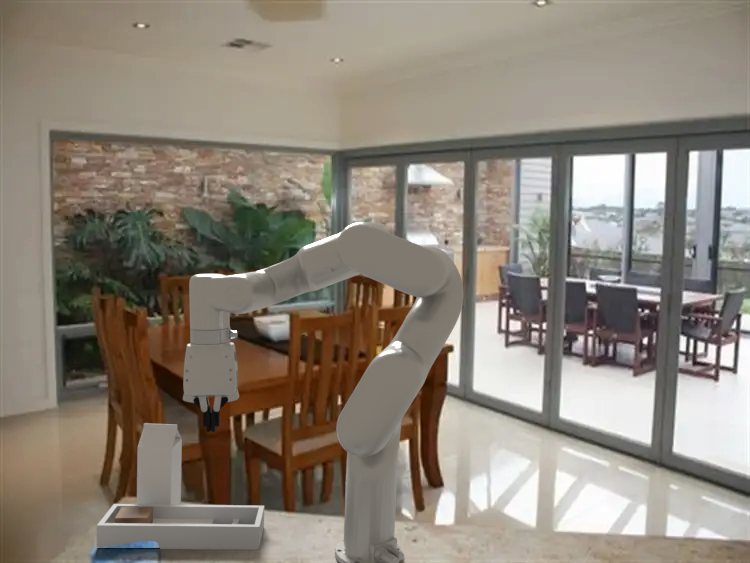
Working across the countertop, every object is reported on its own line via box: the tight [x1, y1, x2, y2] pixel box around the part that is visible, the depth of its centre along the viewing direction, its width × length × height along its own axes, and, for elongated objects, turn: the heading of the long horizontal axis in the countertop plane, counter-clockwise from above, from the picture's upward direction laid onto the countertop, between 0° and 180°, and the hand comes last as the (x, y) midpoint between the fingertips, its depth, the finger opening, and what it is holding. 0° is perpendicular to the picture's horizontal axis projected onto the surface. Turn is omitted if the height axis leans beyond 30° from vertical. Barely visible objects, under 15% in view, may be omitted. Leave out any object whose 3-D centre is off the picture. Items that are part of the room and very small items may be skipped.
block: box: [115, 507, 153, 524], centre depth 133 cm, size 6×5×3 cm
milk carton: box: [136, 422, 183, 505], centre depth 145 cm, size 7×7×19 cm
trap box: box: [96, 503, 265, 551], centre depth 134 cm, size 30×10×4 cm, turn 94°
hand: (211, 430), depth 134 cm, fingers closed
